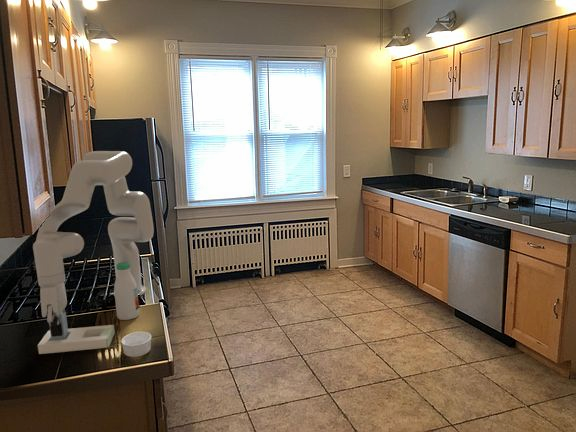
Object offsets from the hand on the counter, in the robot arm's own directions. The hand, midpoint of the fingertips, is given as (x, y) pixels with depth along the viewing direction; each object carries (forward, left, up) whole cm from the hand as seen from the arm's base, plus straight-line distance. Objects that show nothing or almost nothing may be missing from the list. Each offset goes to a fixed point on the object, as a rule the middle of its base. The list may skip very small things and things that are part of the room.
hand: (59, 331), depth 150 cm
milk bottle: (-18, +18, -5) cm, 26 cm away
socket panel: (0, +5, -4) cm, 7 cm away
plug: (0, 0, -4) cm, 4 cm away
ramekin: (+9, +25, -5) cm, 27 cm away
